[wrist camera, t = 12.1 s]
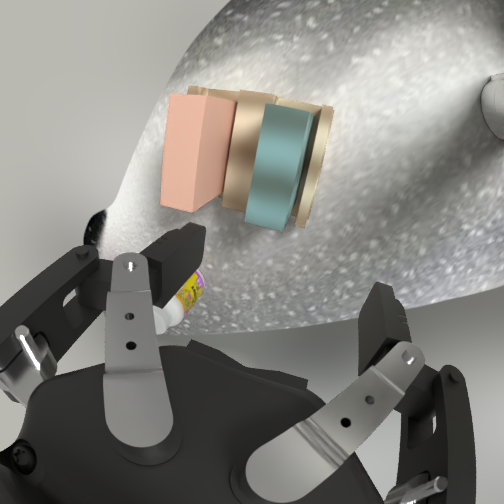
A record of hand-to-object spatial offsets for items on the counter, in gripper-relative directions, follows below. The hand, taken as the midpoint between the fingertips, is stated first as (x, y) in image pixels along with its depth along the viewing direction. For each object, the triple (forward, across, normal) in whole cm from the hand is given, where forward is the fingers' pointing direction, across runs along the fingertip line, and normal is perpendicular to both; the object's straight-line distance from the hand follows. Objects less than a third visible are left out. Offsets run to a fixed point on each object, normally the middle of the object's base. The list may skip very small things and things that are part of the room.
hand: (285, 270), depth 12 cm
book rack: (+26, +9, -1) cm, 28 cm away
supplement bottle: (+26, +16, +24) cm, 39 cm away
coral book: (+25, +13, 0) cm, 28 cm away
